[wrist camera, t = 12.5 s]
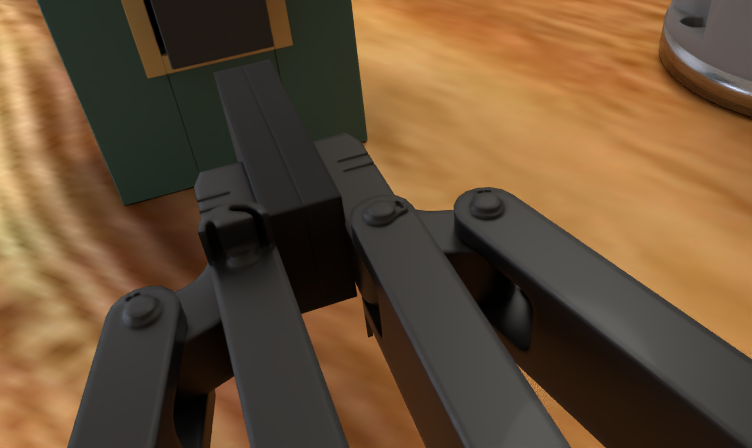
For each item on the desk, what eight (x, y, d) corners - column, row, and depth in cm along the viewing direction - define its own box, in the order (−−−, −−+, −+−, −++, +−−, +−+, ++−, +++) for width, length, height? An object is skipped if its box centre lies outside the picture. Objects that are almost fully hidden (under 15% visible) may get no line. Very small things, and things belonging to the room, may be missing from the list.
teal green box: (369, 144, 33) (332, -183, 24) (124, 209, 30) (-20, -126, 21) (329, 82, 38) (286, -203, 29) (118, 134, 36) (1, -160, 27)
